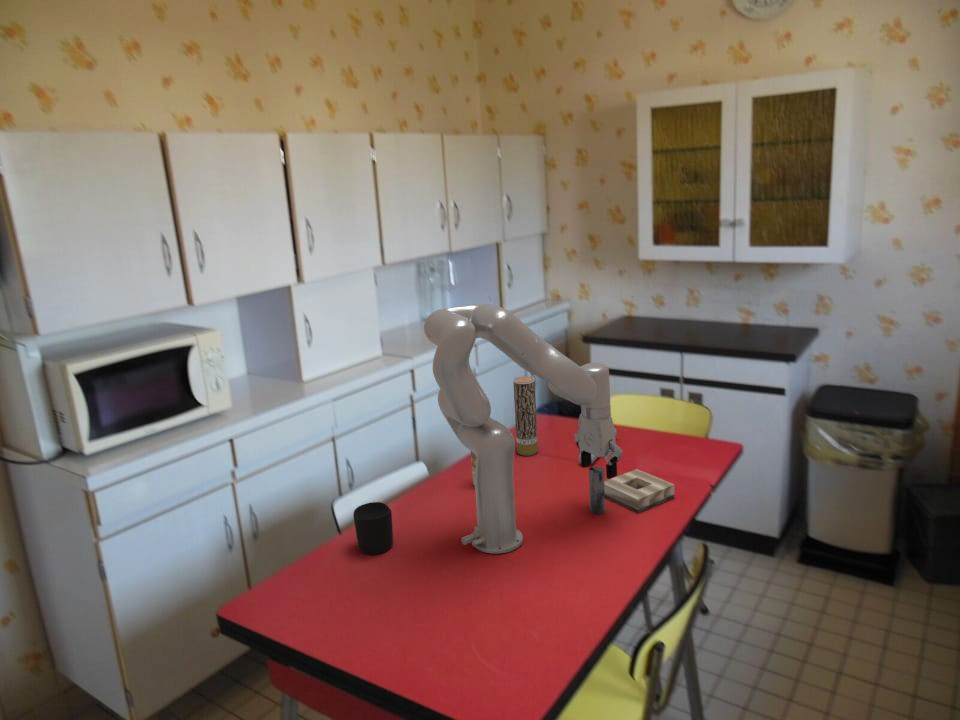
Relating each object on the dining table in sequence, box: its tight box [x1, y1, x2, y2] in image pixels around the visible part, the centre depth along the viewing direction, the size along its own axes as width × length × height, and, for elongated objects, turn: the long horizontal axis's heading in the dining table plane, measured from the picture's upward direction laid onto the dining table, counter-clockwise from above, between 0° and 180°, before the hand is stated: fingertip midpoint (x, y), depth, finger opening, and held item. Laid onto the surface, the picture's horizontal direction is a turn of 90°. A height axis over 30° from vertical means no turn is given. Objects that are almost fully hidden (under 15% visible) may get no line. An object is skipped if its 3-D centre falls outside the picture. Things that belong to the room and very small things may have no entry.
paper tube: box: [513, 375, 539, 457], centre depth 232 cm, size 7×7×25 cm
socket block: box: [604, 468, 675, 514], centre depth 199 cm, size 14×14×4 cm
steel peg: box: [588, 466, 606, 515], centre depth 191 cm, size 4×4×12 cm
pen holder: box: [352, 501, 394, 556], centre depth 181 cm, size 9×9×10 cm
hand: (598, 471), depth 190 cm, fingers open, 9 cm apart
